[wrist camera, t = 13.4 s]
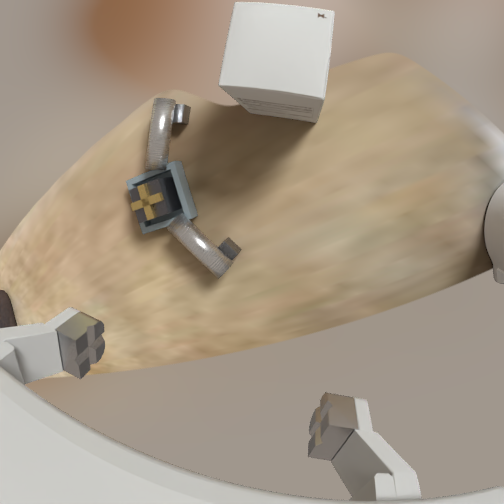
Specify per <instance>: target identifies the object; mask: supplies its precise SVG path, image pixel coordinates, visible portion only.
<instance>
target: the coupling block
mask: <svg viewBox="0 0 504 504" xmlns="http://www.w3.org/2000/svg"><path fill="white" fill-rule="evenodd" d="M129 192H130V195H131V199H132V202H133V203H131V208H132V211H135V212H136V215H137V218H138V221H139V223H142V222H145V221H148V220H151V219H154V218H157V217H160V216H163V215H166V214H169V213H171V212H174V211H176V210H179V209H182V205H181V202H180V199H179V196H178V192H177V189H176V186H175V183H174V179H173V177H166V178H158V179H155V180H153V181H150V182H148V183H145V184H142V185H140V186H137V187H135V188H133V189H131V190H129Z"/></svg>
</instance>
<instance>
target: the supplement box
mask: <svg viewBox="0 0 504 504" xmlns="http://www.w3.org/2000/svg"><path fill="white" fill-rule="evenodd" d="M334 14H335V13H334V11H330V10H324V9H317V8H310V7H302V6H292V5H283V4H272V3H258V2H235V3H234V7H233V12H232V17H231V21H230V26H229V31H228V36H227V41H226V46H225V51H224V56H223V61H222V67H221V73H220V79H219V84H218V85H219V86H220V87H221V88H222V89H223V90H224V91H225V92H227V93H228V94H229V95H230V96H231V97H232V98H234V99H235V100H236V101H237V102H238V103H239V104H240V105H242V106H243V107H244V108H245V109H246V110H247V111H248V112H249V113H251V114H259V115H267V116H275V117H282V118H289V119H295V120H301V121H307V122H313V123H317V121H318V118H319V115H320V112H321V109H322V106H323V103H324V99H325V93H326V86H327V79H328V71H329V63H330V54H331V45H332V35H333V25H334Z"/></svg>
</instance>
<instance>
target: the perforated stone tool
mask: <svg viewBox="0 0 504 504" xmlns="http://www.w3.org/2000/svg"><path fill="white" fill-rule="evenodd" d="M14 326H17V325H16V321H15V317H14V313H13V309H12V305H11V302H10V299H9V297H8V295H7V293H6V292H5V291H3V290H0V328H7V327H14Z"/></svg>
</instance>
